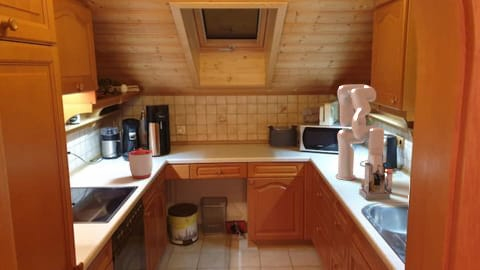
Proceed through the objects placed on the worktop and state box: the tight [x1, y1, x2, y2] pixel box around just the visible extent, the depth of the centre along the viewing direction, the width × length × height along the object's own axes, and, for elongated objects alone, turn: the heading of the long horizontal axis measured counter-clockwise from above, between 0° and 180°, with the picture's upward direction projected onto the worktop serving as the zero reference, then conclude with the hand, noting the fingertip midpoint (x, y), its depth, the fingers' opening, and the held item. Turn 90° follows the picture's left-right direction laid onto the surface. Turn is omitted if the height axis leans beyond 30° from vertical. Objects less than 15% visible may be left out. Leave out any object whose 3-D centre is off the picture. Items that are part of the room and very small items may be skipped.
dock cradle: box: [358, 188, 391, 201], centre depth 206 cm, size 10×13×3 cm
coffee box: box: [364, 162, 386, 194], centre depth 205 cm, size 9×6×16 cm
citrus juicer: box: [125, 147, 153, 179], centre depth 254 cm, size 16×17×20 cm
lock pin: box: [385, 168, 394, 194], centre depth 212 cm, size 4×4×13 cm
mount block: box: [360, 178, 365, 189], centre depth 219 cm, size 9×9×5 cm
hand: (374, 183), depth 205 cm, fingers closed on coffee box, 6 cm apart
